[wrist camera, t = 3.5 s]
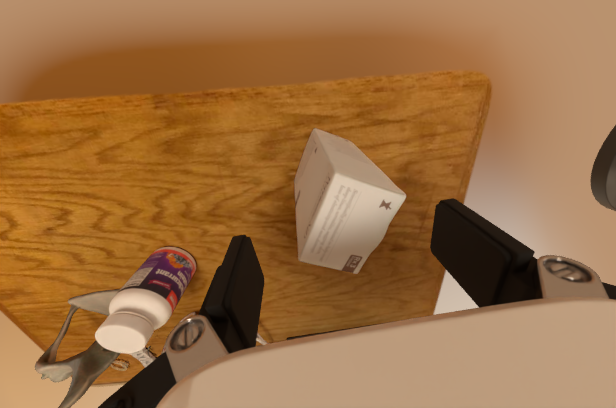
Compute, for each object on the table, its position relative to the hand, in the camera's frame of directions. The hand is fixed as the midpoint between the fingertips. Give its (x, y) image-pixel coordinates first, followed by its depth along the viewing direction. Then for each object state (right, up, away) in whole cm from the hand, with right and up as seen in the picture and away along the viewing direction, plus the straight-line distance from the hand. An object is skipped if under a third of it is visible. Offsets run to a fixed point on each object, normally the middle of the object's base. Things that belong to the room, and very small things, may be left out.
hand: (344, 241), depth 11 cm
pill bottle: (-19, -5, +17) cm, 25 cm away
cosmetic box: (0, +6, +12) cm, 13 cm away
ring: (-33, -25, +26) cm, 49 cm away
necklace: (-28, -23, +25) cm, 44 cm away
